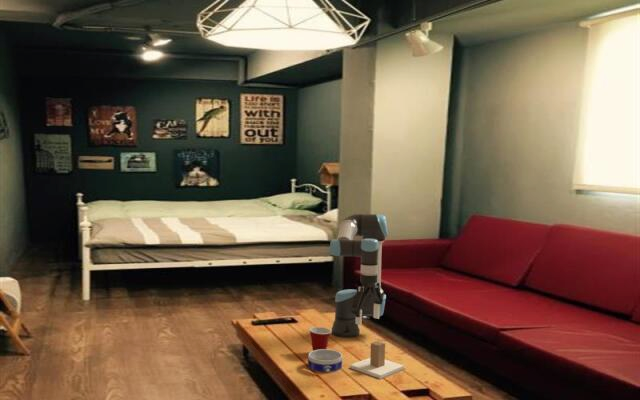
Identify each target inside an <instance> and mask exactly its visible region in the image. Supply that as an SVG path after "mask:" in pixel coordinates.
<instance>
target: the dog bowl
mask: <svg viewBox="0 0 640 400" xmlns="http://www.w3.org/2000/svg"><path fill="white" fill-rule="evenodd" d="M307 358H308V359H307V361H308V362H307V365H308V366H307V367H308V368H309V370H312V371H315V372H319V373H333V372H337V371H339V370H341V369H342V365H343V354H342V353H341V352H340V351H337V350H336V349H335V350H334V349H329V348H326V349H320V350H314V351H313V350H312V351H310V352H309V353H308V355H307Z"/></svg>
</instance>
